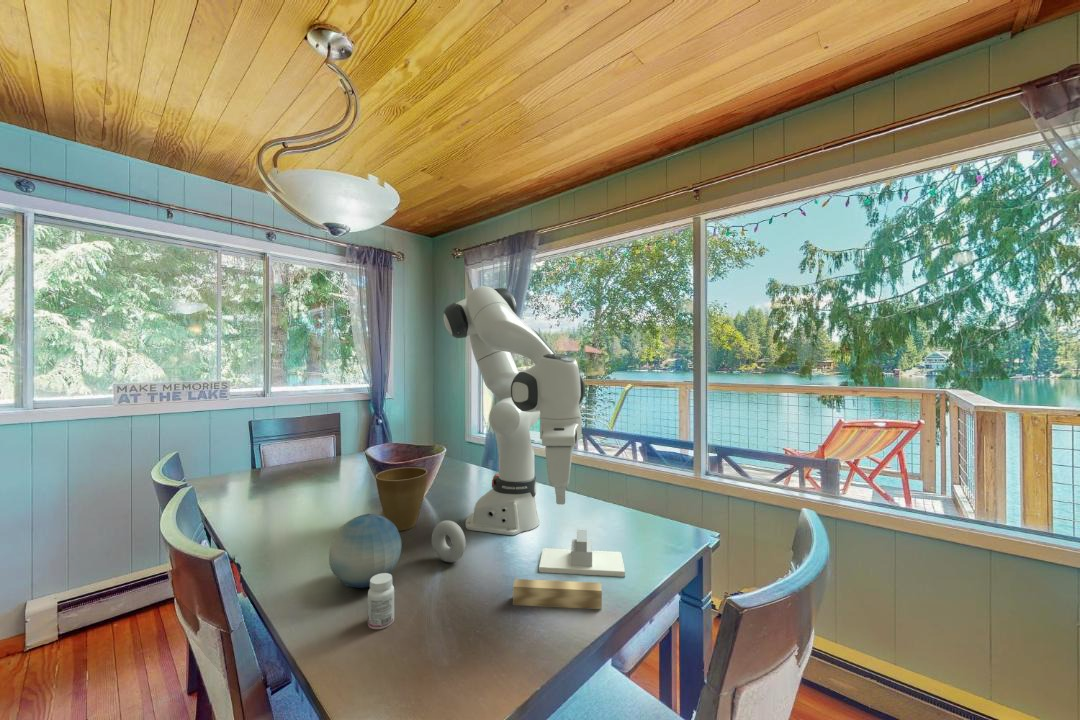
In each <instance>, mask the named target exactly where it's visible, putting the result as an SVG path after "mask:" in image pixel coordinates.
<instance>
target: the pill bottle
mask: <svg viewBox="0 0 1080 720" xmlns="http://www.w3.org/2000/svg"><path fill="white" fill-rule="evenodd" d="M394 621H395V587H394V585H393V575H392V574H391V573H390V574H389V573H381V574H377V575H375V576H373V577H372V578H371V579H370V586H369V589H368V591H367V625H368V627H369V628H370V629H373V630H382V629H385V628H388V627H389V626H390V625H392V624H393V622H394Z"/></svg>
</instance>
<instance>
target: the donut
mask: <svg viewBox="0 0 1080 720" xmlns="http://www.w3.org/2000/svg"><path fill="white" fill-rule="evenodd" d="M446 536H448V537H449V539H450V540H451V541H450V542H451V547H450V546H449V545H448V544H447V541H446ZM466 543H467V542H466V536H465V533H464V531H463V529H462V527H461V526H460V525H459V524H458V523H457V522H455V521H453V520H442V521H440V522H439V523H437V524H436V526H435V527H434V529H433V531H432V534H431V545H432V549H433V551H434V553H435V554H436V556H437V557H438V558H439V559H440V560H441V561H443V562H445V563H454V562H457V561H458V560H459V559H461V557H462V556H463V555H464V553H465V550H466Z"/></svg>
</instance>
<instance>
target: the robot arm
mask: <svg viewBox="0 0 1080 720" xmlns="http://www.w3.org/2000/svg"><path fill="white" fill-rule="evenodd" d="M466 297H467V298H464V299H462V300H459V301H457V302H453V303H451V304H449V305H447V306H446V307H445V308H444V310H443V324H444V327H445V328H446V330H447V332H449V334H450V335H451V336H452V337H453V338H456V339H463V338H465V339H466V338H467V336H469V340H470V341H469V342H470V346H471V349H472V350H471V351H472V353H473V357H474V360H475V362H476V365H477V367H478V369H479V373H480V375H481V377H482V379H483V382H484V384H485V386H486V388H487V389H488V390H489V391H491V393H492V394H493V395H494V397H495V399H496V400H497V403H496V404H495V405H494V406H493V407H492V408H491V410H490V412H489V415H488V416H489V417H488V420H489V424H490V426H491V428H492V430H493V431H494V436H495V439H496V441H495V442H496V444H497V445H496V446H497V452H498V453H497V454H498V473H496V474H495V475H494V476H492V480H491V489H490V490H489V491H487V492H486V493H485V494H483V495H482V496H480V498H479V499H477V500H476V503H475V505H474V508H473V512H472V513H471V514H469V516H468V517H467V518H466V520H465V528H466V530H469V531H476V532H484V533H492V534H499V535H500V534H501V535H507V536H515V535H518V534H520V533H522V532H526V531H531V530H533V529H536V528H537V527H538V526H540V523H541V522H540V518H539V514H538V510H537V502H536V494H537V478H536V475H535V454H536V453H535V449H534V448H533V445H532V440H531V432H530V430H531V429H530V428H531V427H533V426H534V425H536V423H537V422H538V420H539V439H540V440H541V444H542V447H545V449H544V450H545V460H546V469H547V478H548V479H547V480H548V483H549V485H550V486H551V487H552V488H553V487H554V492H555V501H556V502H555V503H556V505H562V506H563V505H565V503H566V490H567V489H568V486H569V483H570V476H571V467H572V466H571V465H572V455H573V451H574V448H575V447H576V446H577V442H578V441H580V440H581V439H582V438H583V435H582V432H583V431H582V426H583V425H582V413H581V409H580V404H581V403H582V402H583V400H584V398H585V395H586V384H585V381H584V378H583V376H582V375H581V373H580V369H579V365H578V361H577V359H576V358H574V357H573V356H571V355H568V354H559V353H557V352H556V350H555V349H554V348H553V347H552V346H551V345H550V344H549V343H548V342H547V341H546V340H545V338H543V336H542V335H541V334H539V333H538V331H536V330H535V329H533V328H531V327H530V325H528V324H526V322H524V321H523V320H522V319H521V318H520V317H519V315H517V312H518V311H517V303H516V299H515V297H514V295H513V294H512V293H511V291H510V290H508V289H507V288H506V287H498V288H493V287H490V286H486V285H483V286H482V285H481V286H477V287H475V288H473V289H472V290H471V291H470V292H469V294H468V295H467V296H466ZM513 354H516V355H518V356H522V357H525V358H527V359H529V360H530V361H531V362H533V364H534V365H533V366H532V367H529V368H528V369H525V370H522V371H519V368H518V367H517V365H516V362H515V359H514V357H513Z"/></svg>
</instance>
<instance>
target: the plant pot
mask: <svg viewBox="0 0 1080 720" xmlns="http://www.w3.org/2000/svg"><path fill="white" fill-rule="evenodd" d="M427 479H428V470H427V469H425V468H422V467H410V466H409V467H398V468H397V467H396V468H391V469H386V470H383V471H380V472H378V473H377V474H376V475H375V484H376V489H377V492H378V493H377V494H378V498H379V502H380V506H381V509H382V511H383V514H384V515H383V516H384V517H385V518H387V519H388V520H390V521H391V522H392V523H393V524H394V525H395V526H396V528H397V529H398V532H400V531H406V530H410V529H412V528H414V527H416V523H417V522H418V521H417V520H418V518H419V515H420V511H421V508H422V505H423V501H424V498H425V497H424V496H425V492H426V487H427Z"/></svg>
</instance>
